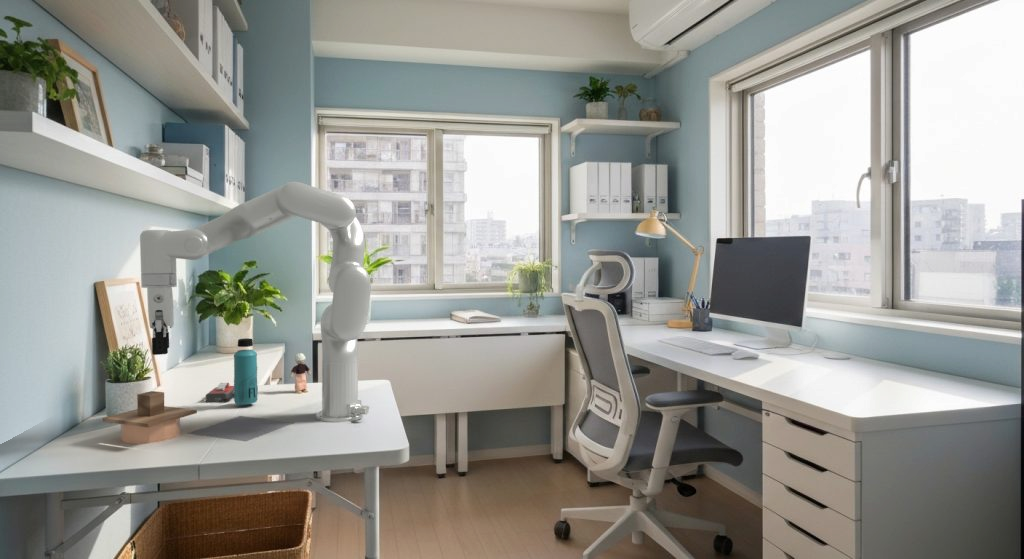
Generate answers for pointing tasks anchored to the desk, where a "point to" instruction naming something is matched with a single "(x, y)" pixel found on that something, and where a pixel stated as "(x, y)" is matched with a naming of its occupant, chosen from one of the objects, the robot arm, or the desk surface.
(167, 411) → the lid
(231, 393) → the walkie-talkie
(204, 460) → the desk surface
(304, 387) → the grandmother figurine
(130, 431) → the bowl
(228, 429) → the mat
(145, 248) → the robot arm
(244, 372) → the beverage bottle
